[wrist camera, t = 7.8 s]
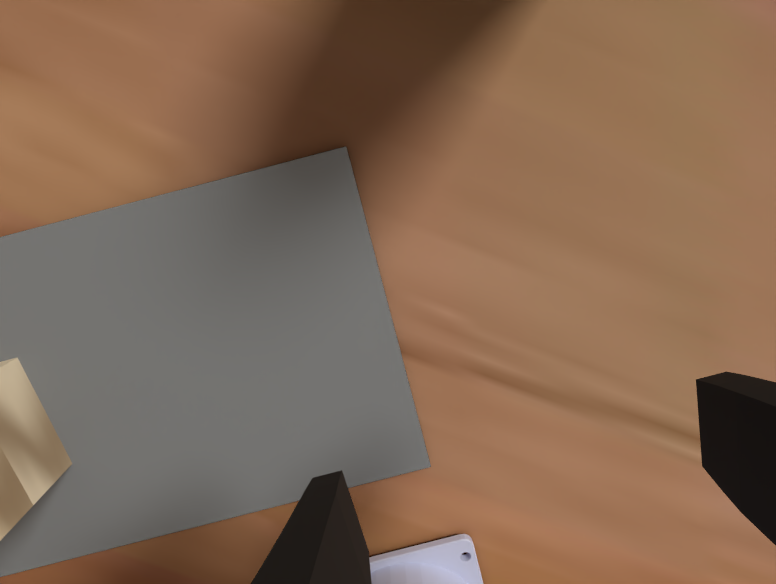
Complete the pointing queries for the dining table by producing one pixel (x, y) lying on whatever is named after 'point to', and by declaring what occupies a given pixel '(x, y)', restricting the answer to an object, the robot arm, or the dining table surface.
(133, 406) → the slate mat
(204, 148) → the dining table surface
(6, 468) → the tower upper
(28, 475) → the tower lower
